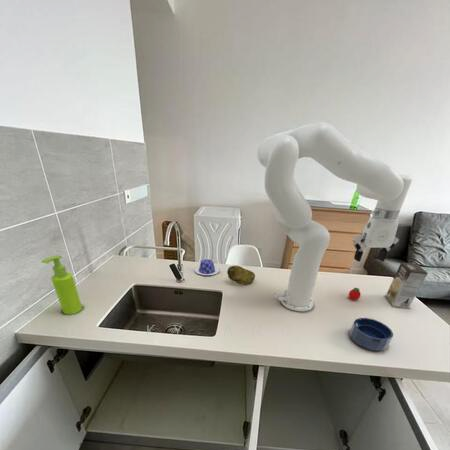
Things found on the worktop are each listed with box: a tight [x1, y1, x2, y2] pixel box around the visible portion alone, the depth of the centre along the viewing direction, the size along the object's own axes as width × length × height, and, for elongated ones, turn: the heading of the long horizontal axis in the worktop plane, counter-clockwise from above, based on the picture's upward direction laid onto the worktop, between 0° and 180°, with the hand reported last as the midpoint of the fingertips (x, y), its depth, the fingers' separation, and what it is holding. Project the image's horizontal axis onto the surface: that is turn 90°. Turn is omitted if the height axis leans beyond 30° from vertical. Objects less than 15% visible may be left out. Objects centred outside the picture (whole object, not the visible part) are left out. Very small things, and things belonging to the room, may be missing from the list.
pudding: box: [194, 258, 220, 276], centre depth 118 cm, size 12×12×5 cm
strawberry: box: [348, 287, 362, 301], centre depth 102 cm, size 4×4×5 cm
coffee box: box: [385, 261, 429, 309], centre depth 98 cm, size 9×6×16 cm
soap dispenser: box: [41, 254, 83, 315], centre depth 81 cm, size 6×7×20 cm
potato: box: [226, 265, 256, 285], centre depth 108 cm, size 8×13×8 cm, turn 89°
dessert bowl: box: [349, 317, 394, 352], centre depth 79 cm, size 11×11×5 cm
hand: (368, 260), depth 93 cm, fingers open, 9 cm apart
